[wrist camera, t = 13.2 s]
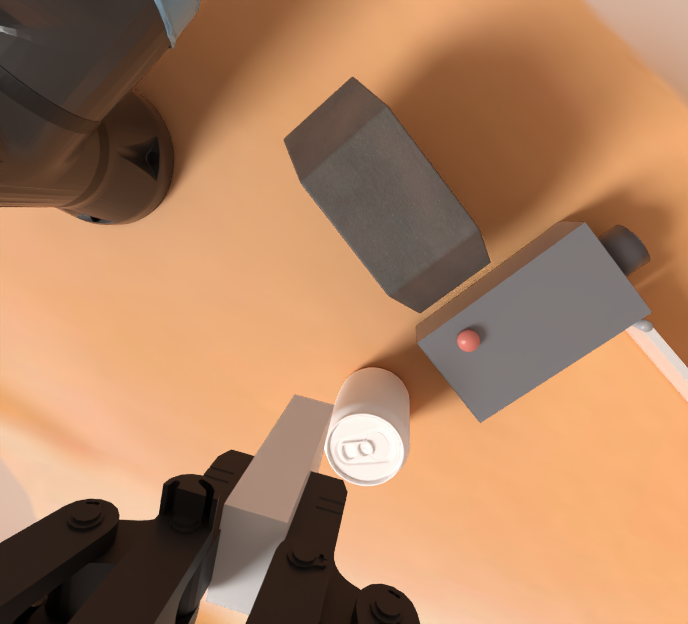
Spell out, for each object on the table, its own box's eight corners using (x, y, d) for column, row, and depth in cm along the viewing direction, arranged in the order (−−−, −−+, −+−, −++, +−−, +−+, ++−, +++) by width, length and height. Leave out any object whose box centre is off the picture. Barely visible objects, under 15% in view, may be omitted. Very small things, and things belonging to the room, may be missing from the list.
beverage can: (416, 424, 53) (419, 483, 41) (349, 436, 54) (333, 497, 42) (400, 358, 51) (397, 400, 40) (331, 373, 53) (309, 417, 41)
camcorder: (471, 396, 51) (481, 427, 43) (415, 326, 50) (417, 345, 43) (647, 279, 46) (693, 291, 38) (588, 199, 45) (624, 196, 38)
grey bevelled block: (275, 121, 43) (312, 217, 27) (338, 63, 42) (416, 129, 26) (374, 236, 53) (443, 354, 38) (428, 193, 52) (524, 298, 36)
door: (705, 396, 47) (751, 424, 41) (689, 406, 48) (733, 436, 41) (622, 299, 46) (656, 313, 40) (607, 311, 47) (638, 326, 40)
